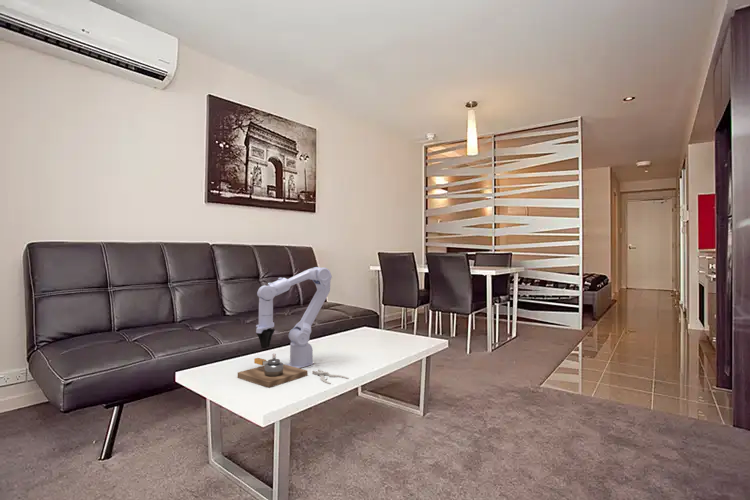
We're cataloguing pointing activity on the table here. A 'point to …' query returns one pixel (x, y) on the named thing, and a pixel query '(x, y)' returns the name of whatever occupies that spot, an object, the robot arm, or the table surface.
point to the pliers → (326, 375)
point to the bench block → (269, 381)
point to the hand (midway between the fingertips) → (265, 347)
